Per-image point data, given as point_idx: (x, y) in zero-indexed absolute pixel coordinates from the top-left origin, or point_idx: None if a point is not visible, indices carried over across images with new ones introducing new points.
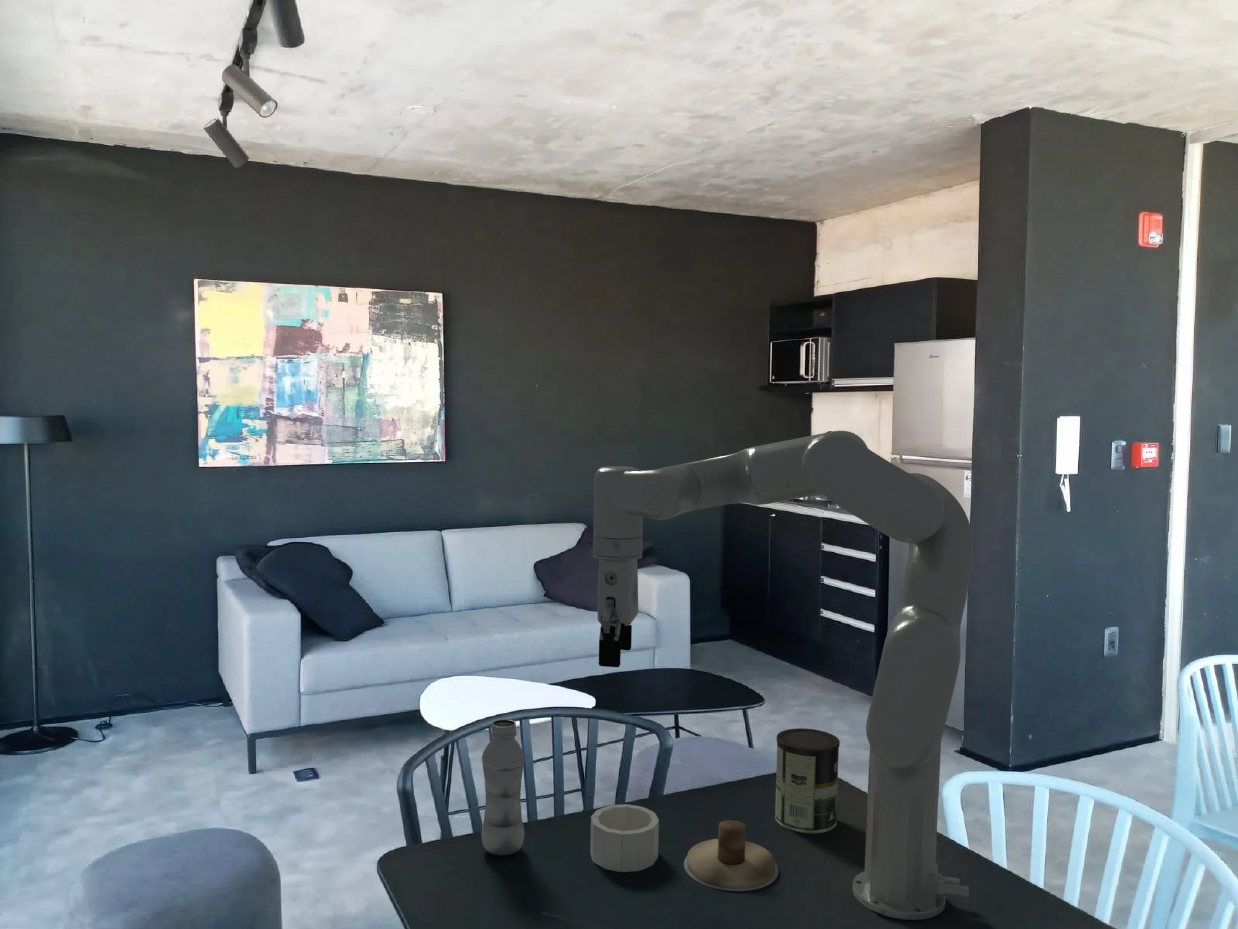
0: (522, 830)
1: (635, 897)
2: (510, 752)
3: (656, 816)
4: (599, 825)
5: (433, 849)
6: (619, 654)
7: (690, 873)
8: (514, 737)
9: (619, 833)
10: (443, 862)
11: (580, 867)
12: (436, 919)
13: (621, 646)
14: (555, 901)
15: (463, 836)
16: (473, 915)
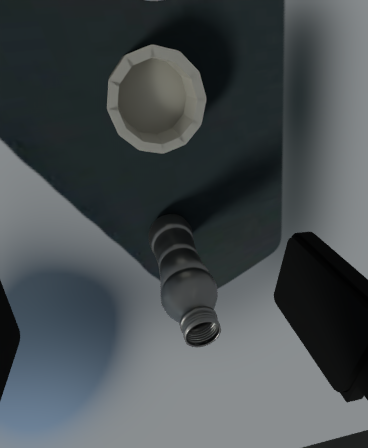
0: (174, 221)
1: (241, 66)
2: (212, 292)
3: (138, 50)
4: (186, 136)
5: None
6: (349, 265)
7: None
8: (193, 306)
9: (204, 103)
10: None
11: (185, 144)
12: (281, 232)
13: (1, 312)
14: (253, 152)
15: (147, 268)
16: (276, 210)
